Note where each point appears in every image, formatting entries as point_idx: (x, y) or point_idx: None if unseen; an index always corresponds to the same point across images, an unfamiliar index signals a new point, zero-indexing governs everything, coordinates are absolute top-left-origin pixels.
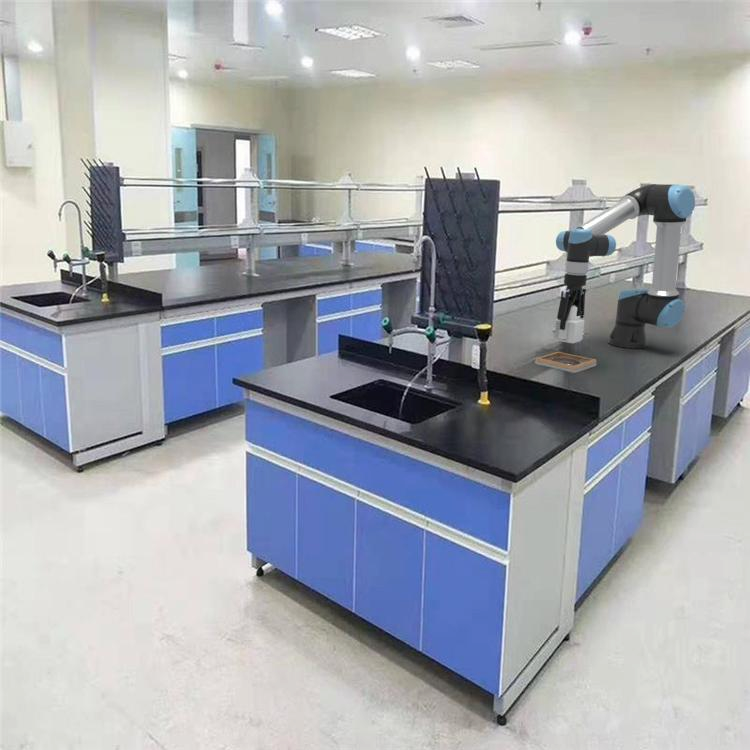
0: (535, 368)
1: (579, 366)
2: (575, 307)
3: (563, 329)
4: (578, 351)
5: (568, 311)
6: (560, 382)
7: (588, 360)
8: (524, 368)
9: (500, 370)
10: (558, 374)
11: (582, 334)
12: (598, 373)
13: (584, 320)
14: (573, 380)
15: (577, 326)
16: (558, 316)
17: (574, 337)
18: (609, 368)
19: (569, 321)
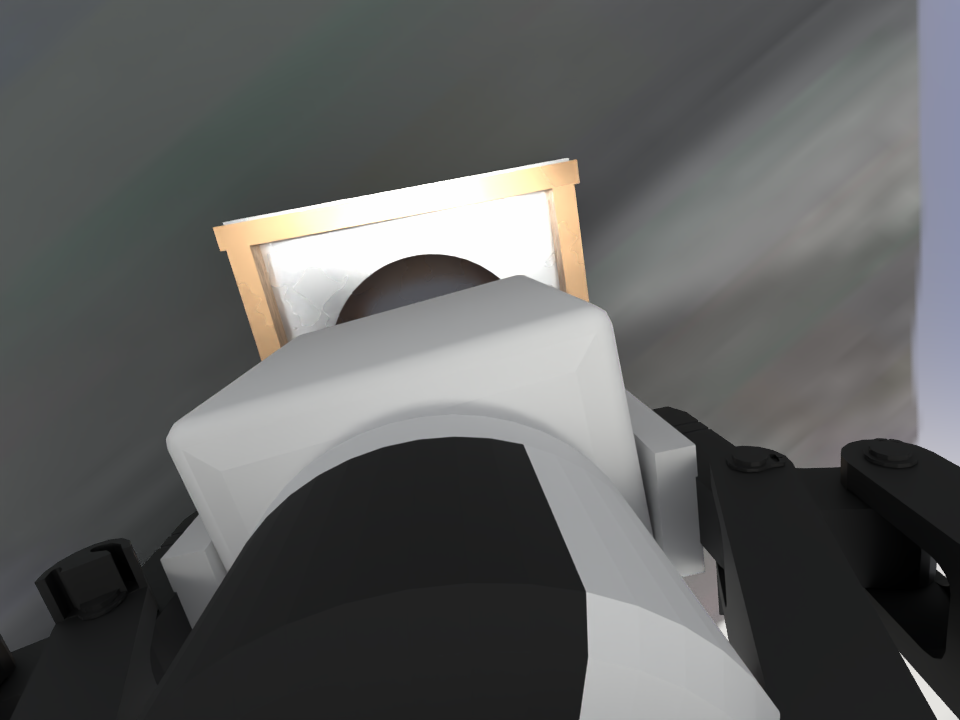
0: (688, 377)
1: (500, 174)
2: (649, 682)
3: (670, 408)
4: (36, 567)
5: (843, 594)
6: (848, 47)
7: (264, 276)
8: (743, 407)
9: (889, 436)
10: (687, 198)
11: (291, 346)
12: (406, 53)
13: (183, 421)
14: (734, 29)
15: (504, 312)
16: (934, 572)
17: (533, 279)
18: (191, 107)
19: (631, 440)
